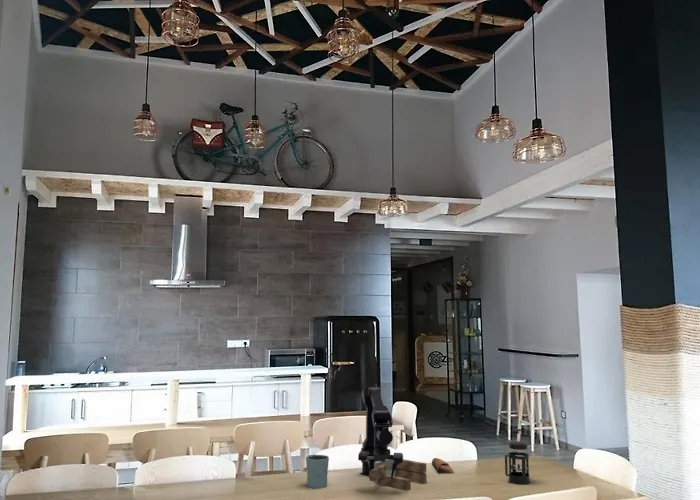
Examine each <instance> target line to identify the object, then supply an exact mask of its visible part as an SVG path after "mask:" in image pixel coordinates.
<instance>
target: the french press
mask: <svg viewBox="0 0 700 500" xmlns="http://www.w3.org/2000/svg"><path fill="white" fill-rule="evenodd" d="M512 431H515V432H516V435H517V437H516V438H517V440H512V441H507V445H508V448H509V449H512V450H517V451H512V452H511V451H510V452H508V453H507V454H505V455H504V471H505V472H504V474H505V476H506V477H508V482H509V483H510V484H513V485H523V486H524V485H530V484H531V481H530V469H529V454H528V452H527V453H525V452H522V451H525V450H527V449H528V445H529V443H528V442H526V441H519V434H520V432H523V429H520V428H513V429H512ZM519 450H520V451H521V452H520V451H519ZM520 460H521V464H520ZM517 461H518V462H517ZM516 463H517V464H516Z"/></svg>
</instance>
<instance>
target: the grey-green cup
mask: <svg viewBox="0 0 700 500" xmlns="http://www.w3.org/2000/svg"><path fill="white" fill-rule="evenodd" d="M329 459H330V457H329V456H328V455H325V454H310V455H307V456H306V457H305V464H306V474H307V475H306V483H307V487H308V488H310V489H324V488H327V486H328V474H329V472H328V471H329Z"/></svg>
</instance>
